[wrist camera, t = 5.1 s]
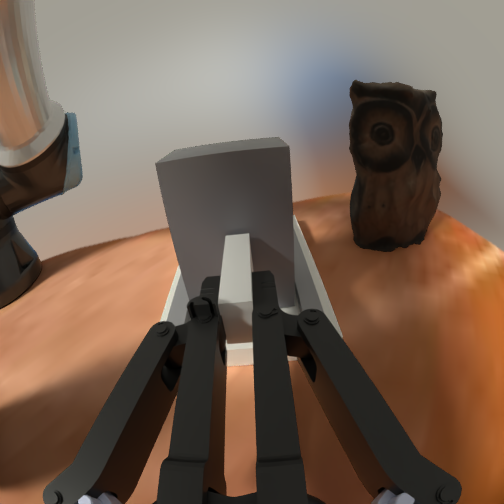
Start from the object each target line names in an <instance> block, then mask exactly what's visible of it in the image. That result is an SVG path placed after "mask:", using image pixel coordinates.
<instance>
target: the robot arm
mask: <svg viewBox="0 0 504 504" xmlns="http://www.w3.org/2000/svg"><path fill="white" fill-rule="evenodd" d="M82 177H83V176H82V164H81V157H80V150H79V138H78V128H77V119H76V114H75V113H68V112H67V113H66V114H65V113H64V110H63V108H62V106H61V105H60V104H59V103H57V102H55V101H52V100H50V99H49V95H48V91H47V87H46V82H45V78H44V73H43V68H42V63H41V58H40V51H39V45H38V38H37V30H36V19H35V4H34V0H0V308H1V307H3V306H5V305H7V304H8V303H10V302H12V301H13V300H14V299H16V298H17V297H18V296H20V295H21V294H22V293H23V292H24V291H25V290H26V289H28V288H29V287H30V285H31V284H32V283H33V282H34V281H35V280H36V278H37V277H38V275H39V274H40V272H41V269H42V264H41V261H40V259H39V257H38V255H37V253H36V251H35V250H34V249H33V248H32V247H31V245H30V244H29V243H28V242H27V241H26V239H25V238H24V237H23V235H22V234H21V233H20V232H19V230H18V229H17V226H16V224H15V221H14V218H13V215H15V214H17V213H19V212H21V211H23V210H25V209H27V208H30V207H32V206H34V205H37V204H39V203H41V202H44V201H46V200H48V199H51V198H53V197H56V196H58V195H62V194H64V193H65V192H66V191H68V190H70V189H72V188H75V187H77V186H78V185H79V184H80V183H81V181H82ZM187 309H188V312H189V315H190V318H191V320H190V321H189V322H187V323H184V324H181V325H178V326H175V325H174V324H173V323H172V322H169V321H161V322H158V323H156V324H154V325H153V326H152V327H151V328H150V330H149V331H148V333H147V335H146V336H145V338H144V339H143V341H142V343H141V344H140V346H139V347H138V349H137V351H136V352H135V354H134V356H133V357H132V359H131V360H130V362H129V364H128V365H127V367H126V369H125V370H124V372H123V374H122V375H121V377H120V379H119V380H118V382H117V384H116V386H115V387H114V389H113V391H112V392H111V394H110V396H109V398H108V399H107V401H106V403H105V404H104V406H103V408H102V410H101V412H100V413H99V415H98V417H97V419H96V420H95V422H94V424H93V426H92V428H91V429H90V431H89V433H88V435H87V437H86V439H85V441H84V442H83V444H82V446H81V448H80V450H79V452H78V454H77V456H76V458H75V460H74V461H73V463H72V464H71V465H70V466H69V467H68V468H66V469H65V470H64V471H63V472H62V473H61V474H60V475H59V476H57V477H56V478H55V479H54V480H53V481H52V482H51V483H50V484H48V485H47V486H46V488H45V489H44V491H43V501H44V503H45V504H125V503H126V502H127V501H128V499H129V498H130V496H131V495H132V493H133V491H134V490H135V488H136V486H137V483H138V481H139V479H140V476H141V474H142V472H143V470H144V467H145V465H146V463H147V460H148V458H149V456H150V453H151V451H152V449H153V447H154V444H155V442H156V440H157V437H158V435H159V433H160V431H161V428H162V426H163V424H164V422H165V419H166V417H167V415H168V413H169V410H170V408H171V406H172V404H173V401H174V399H175V397H176V395H177V399H176V406H175V413H174V420H173V427H172V434H171V442H170V449H169V455H168V457H167V458H166V459H164V460H163V462H162V464H161V468H160V476H159V485H158V494H157V500H156V501H155V502H154V503H153V504H326V503H324V502H323V501H322V500H320V499H318V498H316V497H314V496H312V495H309V494H307V490H306V481H305V473H304V465H303V460H302V457H301V453H300V445H299V437H298V429H297V422H296V414H295V407H294V399H293V392H292V385H291V378H290V371H289V364H288V357H287V356H292V357H297V360H298V362H299V364H300V366H301V368H302V370H303V372H304V373H305V375H306V377H307V379H308V381H309V383H310V385H311V387H312V389H313V391H314V393H315V395H316V397H317V399H318V401H319V403H320V404H321V406H322V408H323V410H324V412H325V414H326V416H327V418H328V420H329V422H330V424H331V426H332V428H333V430H334V431H335V433H336V435H337V437H338V439H339V441H340V443H341V445H342V447H343V449H344V451H345V452H346V454H347V456H348V458H349V460H350V462H351V464H352V466H353V468H354V470H355V471H356V473H357V475H358V477H359V479H360V481H361V482H362V484H363V485H364V487H365V488H366V490H367V491H368V492H369V493H370V494H371V496H372V497H374V498H375V499H374V500H373V501H372V502H371V504H456V503H457V502H458V500H459V498H460V496H461V490H462V488H461V484H460V482H459V481H458V480H457V479H456V478H455V477H453V476H451V475H450V474H448V473H447V472H445V471H444V470H442V469H441V468H439V467H438V466H436V465H435V464H433V463H432V462H430V461H429V460H427V459H426V458H424V457H423V456H421V455H420V454H419V452H418V450H417V449H416V447H415V446H414V444H413V443H412V441H411V440H410V438H409V436H408V435H407V433H406V432H405V430H404V429H403V427H402V426H401V424H400V423H399V421H398V420H397V418H396V417H395V415H394V414H393V412H392V411H391V409H390V408H389V406H388V405H387V403H386V402H385V400H384V399H383V397H382V396H381V394H380V393H379V391H378V390H377V388H376V387H375V385H374V384H373V382H372V381H371V379H370V378H369V376H368V375H367V374H366V372H365V371H364V369H363V368H362V366H361V365H360V363H359V362H358V360H357V359H356V358H355V356H354V355H353V353H352V352H351V350H350V349H349V347H348V346H347V345H346V343H345V342H344V340H343V339H342V337H341V336H340V335H339V333H338V332H337V330H336V329H335V327H334V326H333V325H332V323H331V322H330V320H329V319H328V318H327V316H326V315H325V314H324V313H323V312H322V311H320V310H318V309H306V310H304V311H302V312H300V314H299V315H292V314H288V313H285V312H284V311H282V310H281V309H280V307H279V304H278V297H277V291H276V285H275V278H274V275H273V274H272V273H271V271H270V270H267V271H257V272H253V263H252V254H251V245H250V237H249V233H247V234H237V235H227V236H226V237H225V245H224V253H223V262H222V270H221V276H209V277H206V278H205V279H204V281H203V282H202V285H201V290H200V295H199V296H197V297H195V298H193V299H191V300H190V301H189V302H188V304H187ZM226 340H227V344H237V343H250V342H253V366H254V393H255V420H256V446H257V462H256V484H257V492H255V493H251V494H247V495H243V496H238V497H229V496H226V482H225V477H224V446H225V405H226V375H227V349H226ZM177 392H178V393H177Z"/></svg>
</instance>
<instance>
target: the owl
mask: <svg viewBox="0 0 504 504" xmlns="http://www.w3.org/2000/svg"><path fill="white" fill-rule="evenodd" d="M350 98H351V100H352V104H353V110H352V113H351V119H350V122H349V129H350V133H349V135H350V147H349V149H350V152H351V154H352V157H353V161H354V165H355V170H356V173H357V176H356V180H355V184H354V187H353V190H352V194H351V200H350V217H351V225H352V230H353V233H354V238H353V240H354V242H355V243H356V245H357V246H359V247H360V248H363V249H371V250H377V251H384V252H391V251H393V250H395V249H396V248H398V247H402V248H407V247H408V246H409V245H412V244H414V243H415V244H421V242H422V241H423V240H424V236H425V233H426V231H427V228H428V226H429V224H430V222H431V220H432V218H433V216H434V214H435V212H436V209H437V206H438V203H439V199H440V196H441V192H440V189H439V184H440V181H441V177H440V175H439V173H438V171H437V161H438V156H439V153H440V151H441V147H442V136H443V133H442V121H441V118H440V115H439V112H438V110H437V107H436V101H435V99H436V92H435V91H432V90H418V89H413V88H412V87H411V86H409V85H405V84H401V83H399V82H396V83H392V82H388V83H381V84H380V83H374V82H372V83H363V82H360V81H357V80H354V81H353V83H352V86H351V87H350Z"/></svg>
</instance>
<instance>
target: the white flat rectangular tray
mask: <svg viewBox="0 0 504 504" xmlns="http://www.w3.org/2000/svg"><path fill="white" fill-rule="evenodd" d="M293 230H294V271H295V306H291V307H282V308H280V309H281V310H282V311H284V312H285V313H288V314H292V315H299V314H300V312H302V311H304V310H306V309H318V310H320V311H322V312H323V313H324V314H325V315H326V316H327V318H328V319H329V320H330V322H331V323H332V325H333V326H334V327H335V329H336V330H337V332H338V333H339V335H340V336H341V337H342V339H343V335H342V332H341V330H340V327H339V324H338V321H337V319H336V316H335V313H334V311H333V308H332V305H331V303H330V300H329V298H328V295H327V292H326V290H325V287H324V285H323V282H322V280H321V277H320V275H319V272H318V270H317V267H316V265H315V262H314V260H313V257H312V255H311V252H310V250H309V248H308V245H307V243H306V240H305V238H304V236H303V233H302V231H301V229H300V226H299V224H298V222H297V220H296V217H295V215H293ZM188 302H189V298H188V295H187V291H186V288H185V284H184V281H183V277H182V274H181V270H180V267H179V266H178V268H177V271H176V274H175V277H174V280H173V283H172V286H171V289H170V292H169V295H168V298H167V301H166V305H165V308H164V311H163V314H162V317H161V321H169V322H172V323H173V324H174V325H175V326H178V325H181V324H184V323H187V322H189V321H190V320H191V318H190V315H189V312H188V309H187V304H188ZM161 321H160V322H161ZM226 349H227V366H243V365H253V342H250V343H237V344H227V340H226ZM287 357H288V361H294V360H297V357H292V356H287Z"/></svg>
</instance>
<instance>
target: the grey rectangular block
mask: <svg viewBox="0 0 504 504" xmlns="http://www.w3.org/2000/svg"><path fill="white" fill-rule="evenodd" d="M155 165H156V170H157V175H158V179H159V185H160V189H161V194H162V198H163V203H164V207H165V212H166V216H167V220H168V224H169V228H170V232H171V236H172V240H173V244H174V248H175V252H176V256H177V259H178V263H179V267H180V270H181V274H182V277H183V281H184V284H185V288H186V291H187V295H188V298H189V301H190V300H191V299H193V298H195V297H197V296H199V295H200V290H201V285H202V282H203V281H204V279H205V278H206V277H209V276H221V270H222V262H223V253H224V245H225V237H226V236H227V235H237V234H247V233H249V237H250V245H251V254H252V263H253V272H257V271H267V270H270V271H271V273H272V274H273V275H274V278H275V285H276V291H277V297H278V304H279V307H280V308H282V307H291V306H295V271H294V230H293V204H292V183H291V165H290V150H289V146H288V145H287V144H286V143H285V142H284V141H283V140H282V139H280V138H279V137H272V138H260V139H250V140H240V141H231V142H223V143H216V144H209V145H202V146H195V147H189V148H183V149H178V150H174V151H172V152H171V153H169V154H168V155H167V156H165V157H164V158H162V159H161V160H159V161H158V162H157V163H155Z"/></svg>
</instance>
